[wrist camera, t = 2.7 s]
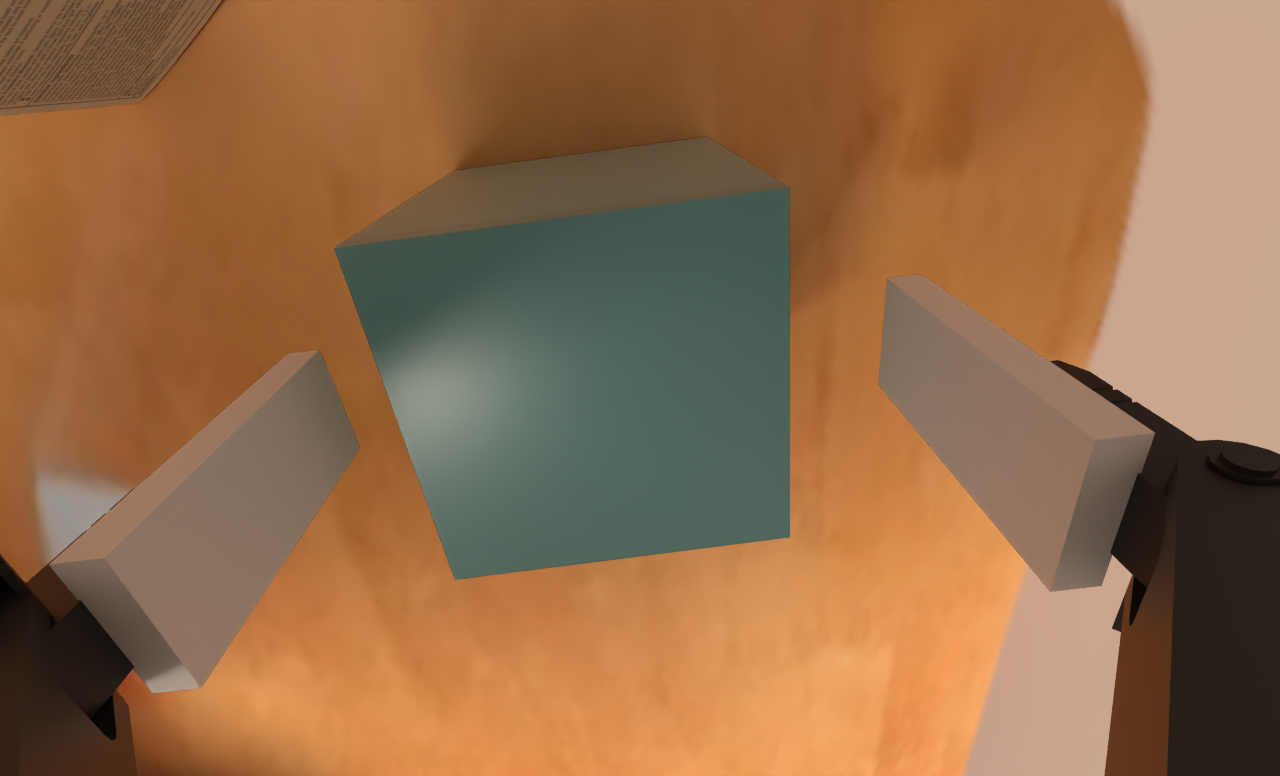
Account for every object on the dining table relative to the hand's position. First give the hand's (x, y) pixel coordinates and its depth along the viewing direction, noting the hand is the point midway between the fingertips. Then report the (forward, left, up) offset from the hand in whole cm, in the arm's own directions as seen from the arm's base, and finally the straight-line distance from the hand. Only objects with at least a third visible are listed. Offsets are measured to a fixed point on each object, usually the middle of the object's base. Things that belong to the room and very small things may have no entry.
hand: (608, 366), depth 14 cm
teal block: (0, 0, -8) cm, 8 cm away
